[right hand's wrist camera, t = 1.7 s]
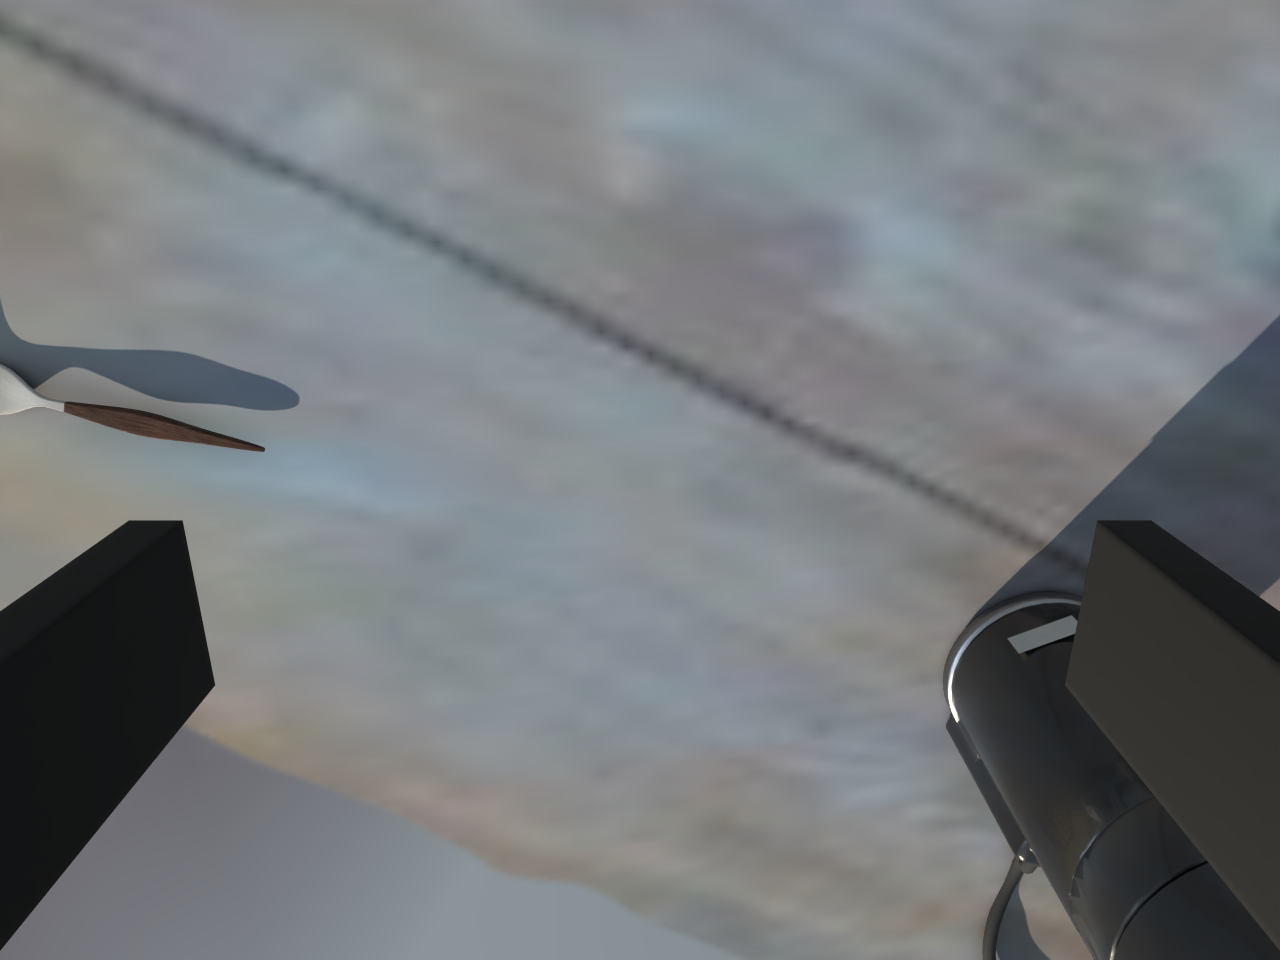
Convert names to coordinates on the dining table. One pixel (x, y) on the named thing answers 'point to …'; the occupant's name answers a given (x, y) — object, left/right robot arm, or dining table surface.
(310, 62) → the dining table surface
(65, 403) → the fork
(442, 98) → the dining table surface
